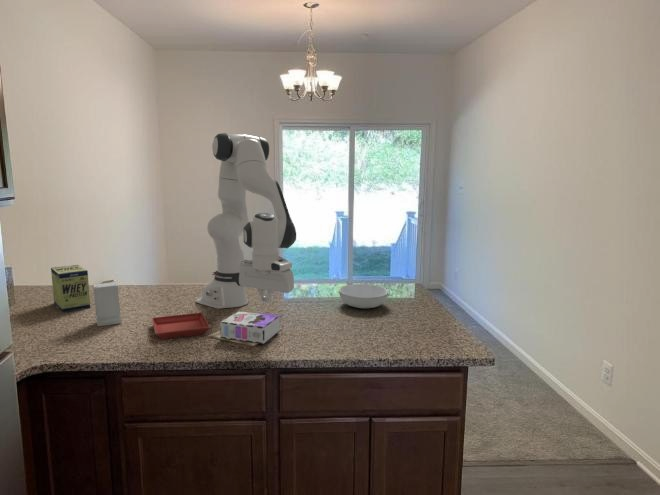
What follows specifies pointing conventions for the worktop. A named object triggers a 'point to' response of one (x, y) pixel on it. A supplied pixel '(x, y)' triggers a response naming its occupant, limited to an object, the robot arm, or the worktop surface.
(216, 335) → the birch board
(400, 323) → the worktop surface
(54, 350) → the worktop surface
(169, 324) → the plant saucer
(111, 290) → the skincare box
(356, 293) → the serving bowl
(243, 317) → the candy box
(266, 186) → the robot arm
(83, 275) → the protein box
